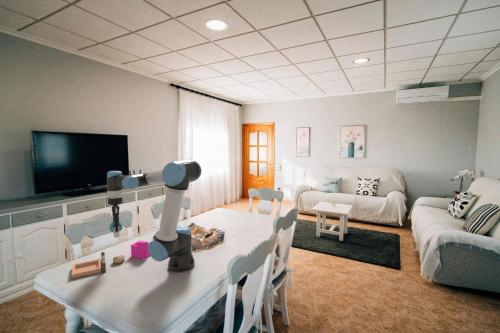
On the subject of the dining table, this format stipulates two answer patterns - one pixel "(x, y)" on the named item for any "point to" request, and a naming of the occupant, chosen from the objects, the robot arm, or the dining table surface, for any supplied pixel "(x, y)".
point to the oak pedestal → (118, 259)
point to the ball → (113, 227)
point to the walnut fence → (103, 262)
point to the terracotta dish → (86, 268)
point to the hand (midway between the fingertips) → (116, 234)
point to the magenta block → (140, 249)
